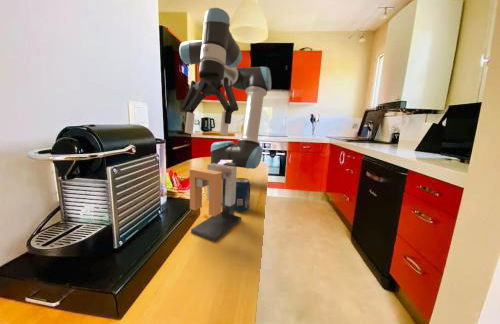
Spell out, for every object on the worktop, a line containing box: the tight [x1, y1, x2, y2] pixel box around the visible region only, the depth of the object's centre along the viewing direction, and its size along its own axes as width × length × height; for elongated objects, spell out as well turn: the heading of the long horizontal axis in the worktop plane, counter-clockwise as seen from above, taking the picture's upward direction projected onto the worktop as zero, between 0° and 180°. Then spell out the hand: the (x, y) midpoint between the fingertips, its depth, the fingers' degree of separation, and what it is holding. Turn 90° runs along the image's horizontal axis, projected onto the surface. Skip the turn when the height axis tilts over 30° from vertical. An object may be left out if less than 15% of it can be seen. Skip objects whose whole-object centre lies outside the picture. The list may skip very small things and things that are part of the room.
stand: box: [190, 162, 242, 243], centre depth 63 cm, size 16×9×20 cm, turn 153°
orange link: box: [189, 167, 222, 217], centre depth 57 cm, size 3×9×12 cm, turn 63°
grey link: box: [206, 163, 238, 206], centre depth 65 cm, size 3×9×12 cm, turn 63°
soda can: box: [234, 177, 251, 213], centre depth 78 cm, size 7×7×12 cm
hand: (205, 134), depth 61 cm, fingers open, 13 cm apart
